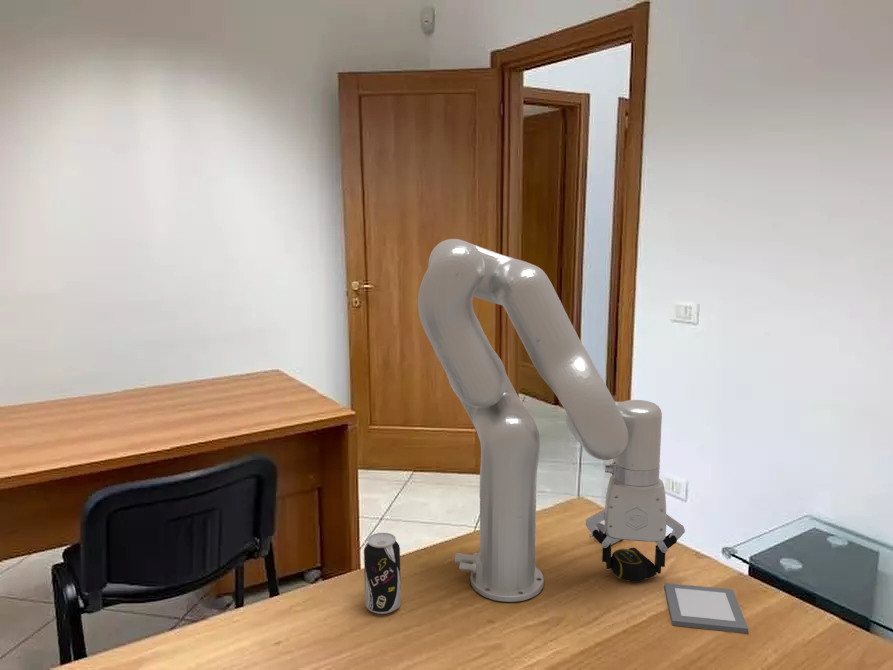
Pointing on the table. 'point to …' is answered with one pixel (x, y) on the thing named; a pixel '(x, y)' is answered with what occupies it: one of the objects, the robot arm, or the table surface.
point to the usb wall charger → (602, 528)
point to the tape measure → (632, 565)
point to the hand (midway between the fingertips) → (632, 567)
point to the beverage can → (382, 573)
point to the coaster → (704, 608)
